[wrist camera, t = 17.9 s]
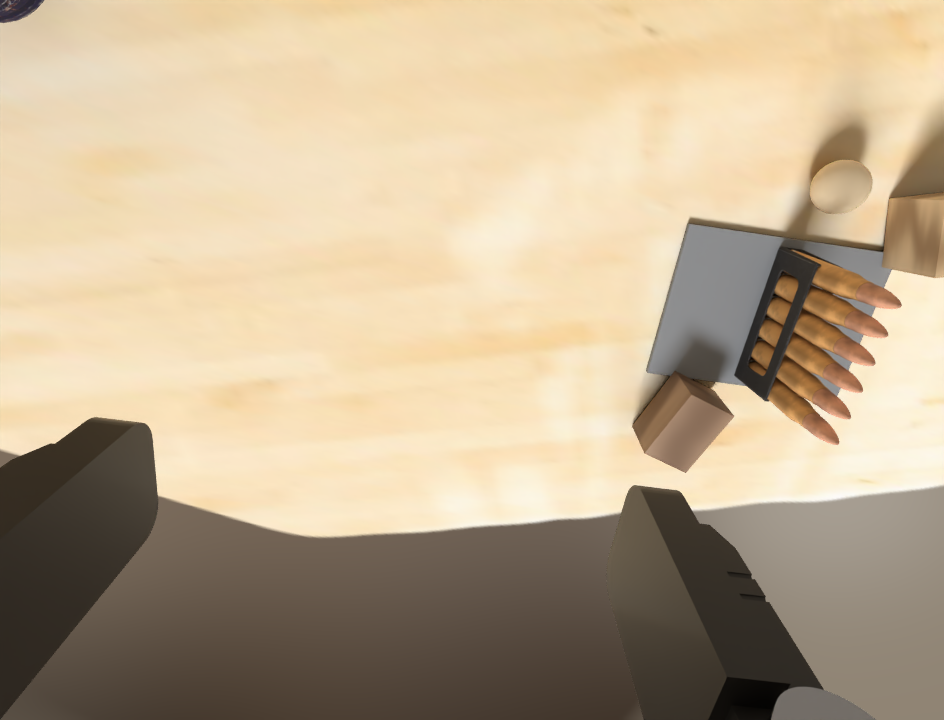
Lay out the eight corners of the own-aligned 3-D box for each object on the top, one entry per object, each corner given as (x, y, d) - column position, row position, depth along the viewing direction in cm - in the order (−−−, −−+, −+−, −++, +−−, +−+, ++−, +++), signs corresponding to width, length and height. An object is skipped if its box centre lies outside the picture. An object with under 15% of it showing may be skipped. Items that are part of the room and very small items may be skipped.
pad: (687, 223, 41) (689, 224, 41) (894, 253, 42) (898, 254, 41) (646, 370, 45) (647, 372, 45) (833, 395, 46) (836, 398, 46)
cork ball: (810, 154, 39) (841, 156, 36) (858, 162, 39) (894, 165, 36) (792, 206, 40) (820, 213, 37) (839, 213, 41) (871, 221, 37)
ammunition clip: (779, 245, 41) (891, 287, 30) (803, 249, 41) (923, 291, 30) (733, 376, 45) (817, 455, 34) (755, 379, 45) (846, 458, 34)
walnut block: (632, 425, 47) (644, 453, 44) (674, 370, 45) (691, 394, 41) (670, 444, 48) (685, 472, 44) (714, 390, 46) (734, 416, 42)
